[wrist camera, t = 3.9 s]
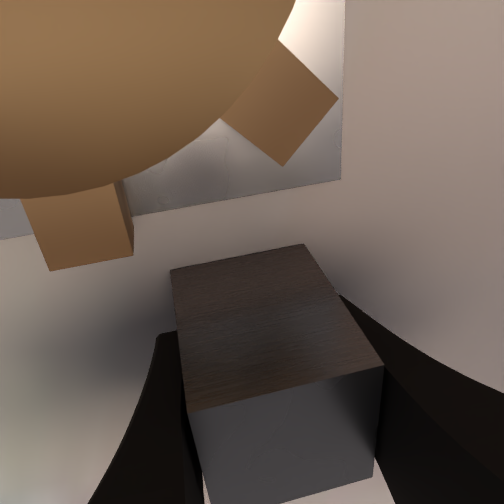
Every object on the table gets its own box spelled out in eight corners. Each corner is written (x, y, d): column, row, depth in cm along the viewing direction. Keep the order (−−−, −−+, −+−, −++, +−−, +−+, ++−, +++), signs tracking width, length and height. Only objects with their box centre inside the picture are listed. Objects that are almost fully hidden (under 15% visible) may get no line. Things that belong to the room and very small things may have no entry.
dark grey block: (306, 341, 15) (372, 476, 11) (192, 368, 14) (215, 522, 10) (303, 243, 13) (384, 364, 9) (170, 270, 12) (187, 413, 8)
